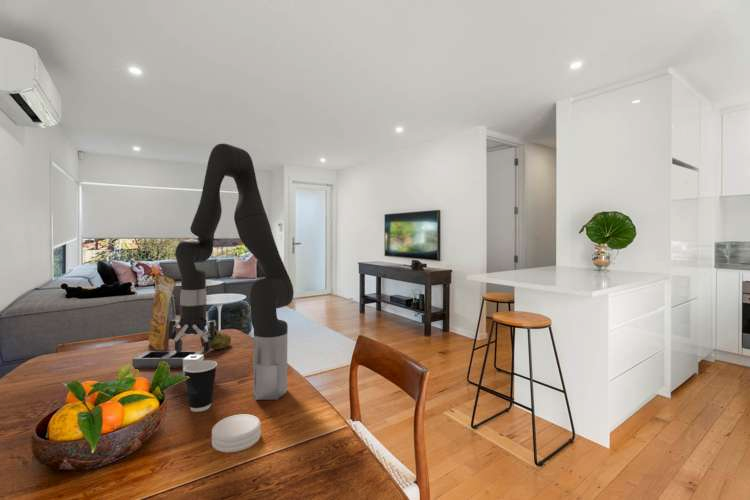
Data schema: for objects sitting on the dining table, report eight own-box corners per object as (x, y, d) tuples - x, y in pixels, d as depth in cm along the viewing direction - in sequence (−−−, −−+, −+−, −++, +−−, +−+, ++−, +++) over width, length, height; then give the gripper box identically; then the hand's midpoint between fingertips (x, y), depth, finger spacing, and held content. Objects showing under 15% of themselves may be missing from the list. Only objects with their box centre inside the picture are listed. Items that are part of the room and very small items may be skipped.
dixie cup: (219, 398, 96) (220, 359, 96) (214, 412, 88) (214, 369, 88) (188, 401, 94) (188, 361, 94) (179, 416, 86) (179, 372, 86)
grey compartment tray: (194, 367, 118) (194, 358, 118) (132, 368, 117) (132, 358, 117) (204, 359, 126) (204, 350, 126) (146, 360, 125) (146, 351, 125)
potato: (237, 347, 140) (237, 328, 140) (205, 355, 130) (205, 334, 130) (227, 343, 146) (227, 324, 145) (195, 350, 136) (195, 330, 136)
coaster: (245, 423, 84) (245, 408, 84) (269, 438, 78) (269, 423, 78) (203, 441, 76) (203, 425, 76) (226, 460, 70) (226, 443, 70)
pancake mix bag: (163, 339, 151) (163, 274, 150) (177, 349, 137) (176, 278, 136) (145, 342, 146) (145, 275, 145) (157, 353, 132) (157, 279, 131)
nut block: (197, 376, 111) (197, 358, 111) (182, 376, 111) (182, 358, 111) (203, 371, 116) (203, 354, 115) (189, 371, 115) (189, 354, 115)
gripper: (164, 304, 108) (163, 356, 109) (211, 305, 109) (210, 356, 110) (176, 299, 116) (176, 348, 117) (220, 300, 117) (219, 348, 117)
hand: (192, 352), depth 113 cm, fingers open, 8 cm apart
